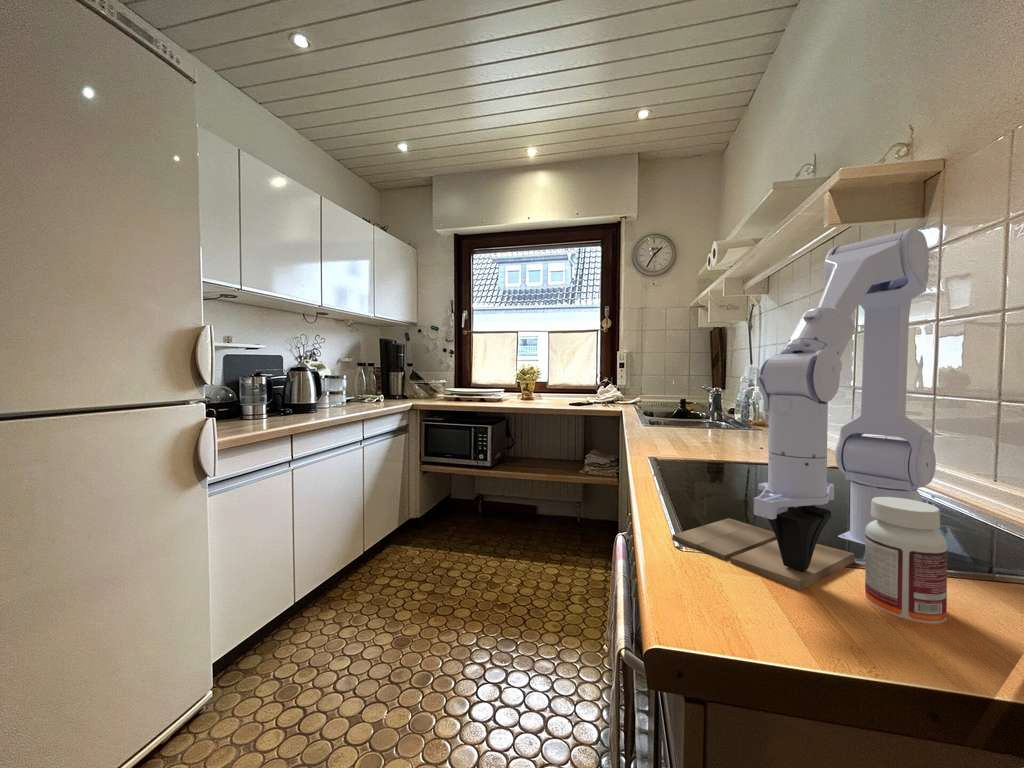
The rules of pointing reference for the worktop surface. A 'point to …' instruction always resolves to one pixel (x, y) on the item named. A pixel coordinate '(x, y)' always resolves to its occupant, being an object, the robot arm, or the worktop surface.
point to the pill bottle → (906, 560)
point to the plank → (772, 567)
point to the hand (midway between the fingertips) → (795, 567)
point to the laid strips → (725, 538)
